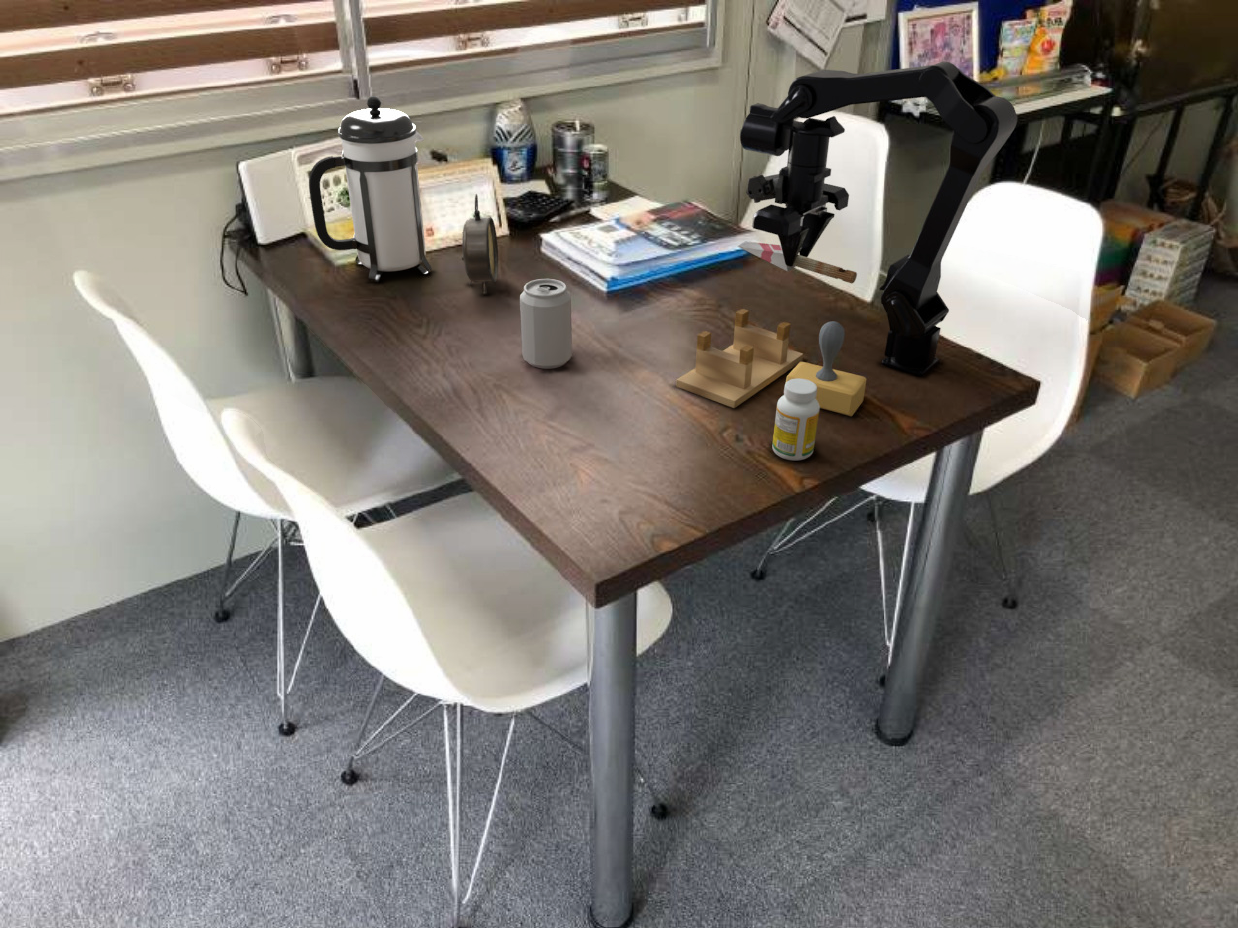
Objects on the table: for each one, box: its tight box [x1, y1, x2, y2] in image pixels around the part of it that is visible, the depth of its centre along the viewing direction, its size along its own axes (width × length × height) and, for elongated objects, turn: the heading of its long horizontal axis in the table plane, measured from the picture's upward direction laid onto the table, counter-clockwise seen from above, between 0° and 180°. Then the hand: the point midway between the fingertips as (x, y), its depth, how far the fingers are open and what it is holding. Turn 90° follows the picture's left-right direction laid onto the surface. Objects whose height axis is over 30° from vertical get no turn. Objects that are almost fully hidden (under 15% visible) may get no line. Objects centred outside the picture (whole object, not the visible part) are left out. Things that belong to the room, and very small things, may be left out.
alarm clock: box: [461, 193, 499, 296], centre depth 172 cm, size 11×5×16 cm, turn 179°
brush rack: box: [675, 308, 804, 409], centre depth 147 cm, size 10×19×7 cm, turn 141°
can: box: [519, 278, 573, 370], centre depth 149 cm, size 8×8×12 cm
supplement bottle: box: [771, 379, 821, 461], centre depth 128 cm, size 5×5×10 cm
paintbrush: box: [737, 241, 858, 284], centre depth 157 cm, size 4×3×20 cm
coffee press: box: [308, 95, 433, 284], centre depth 173 cm, size 17×16×30 cm
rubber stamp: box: [785, 320, 867, 417], centre depth 139 cm, size 10×6×12 cm, turn 61°
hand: (796, 262), depth 157 cm, fingers closed on paintbrush, 4 cm apart
